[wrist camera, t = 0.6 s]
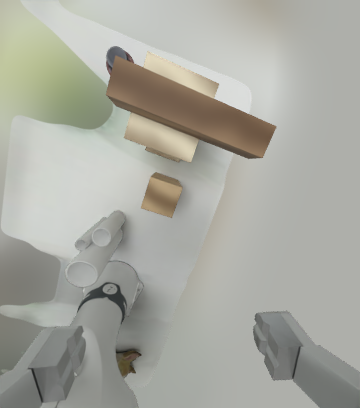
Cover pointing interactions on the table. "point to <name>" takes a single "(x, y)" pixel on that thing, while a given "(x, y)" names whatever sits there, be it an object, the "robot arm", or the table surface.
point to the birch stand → (160, 134)
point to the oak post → (162, 195)
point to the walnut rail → (187, 110)
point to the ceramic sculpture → (126, 362)
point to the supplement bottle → (117, 52)
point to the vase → (95, 250)
